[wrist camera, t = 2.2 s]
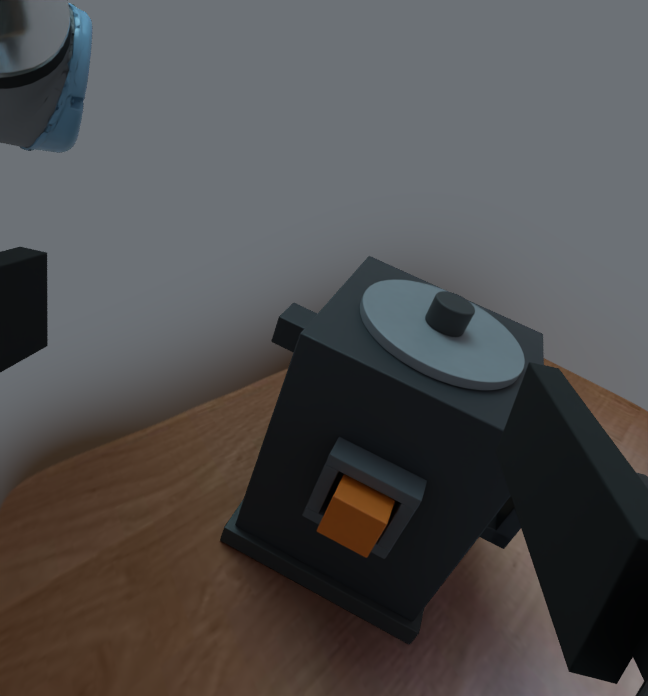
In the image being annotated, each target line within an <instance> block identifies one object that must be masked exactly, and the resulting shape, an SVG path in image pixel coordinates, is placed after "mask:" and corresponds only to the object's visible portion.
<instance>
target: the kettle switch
mask: <svg viewBox="0 0 648 696" xmlns="http://www.w3.org/2000/svg"><path fill="white" fill-rule="evenodd" d="M394 502H395V500H394V499H392V498H390V497H388V496H386V495H384V494H382V493H380V492H379V491H377V490H375V489H373V488H371V487H369V486H367V485H365V484H363V483H361V482H359V481H357V480H355V479H353V478H351V477H349V476H347V475H345V474H344V475H343V477H342V479H341V481H340V483H339V485H338V487H337V489H336V491H335V493H334V495H333V497H332V499H331V501H330V503H329V505H328V507H327V510H326V512H325V514H324V516H323V518H322V520H321V522H320V524H319V526H318V529H317V532H319V533H321V534H322V535H324V536H326V537H328V538H330V539H332V540H334V541H336V542H337V543H339V544H341V545H343V546H345V547H347V548H349V549H351V550H352V551H354V552H356V553H358V554H360V555H362V556H364V557H366V558H367V557H368V556H369V554H370V552H371V551H372V549H373V547H374V546H375V544H376V542H377V541H378V539H379V537H380V536H381V534H382V532H383V531H384V529H385V527H386V526H387V524H388V521H389V517H390V514H391V511H392V508H393V505H394Z"/></svg>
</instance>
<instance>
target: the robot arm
mask: <svg viewBox="0 0 648 696" xmlns="http://www.w3.org/2000/svg"><path fill="white" fill-rule="evenodd" d="M91 44H92V23H91V19H90V18H89V16H88V15H87V13H86V12H84V11H82V10H80V9H78V8H76V7H75V6H74V5H73V4H70V3H68V0H0V142H1V143H6V144H11V145H16V146H20V148H22V149H24V150H28V151H31V150H34V149H36V150H43V151H51V152H57V153H58V152H59V153H60V152H65V151H68V150H69V149H71V148H72V147H73V146H74V144H75V142H76V140H77V137H78V132H79V129H80V123H81V119H82V112H83V100H84V98H85V92H86V88H87V81H88V73H89V64H90V55H91ZM46 346H47V253H46V252H41V251H37V250H32V249H28V248H23V247H17V248H13V249H10V250H6V251H2V252H0V372H2V371H4V370H5V369H7V368H9V367H11V366H13V365H14V364H16V363H18V362H19V361H21V360H23V359H25V358H27V357H28V356H30V355H32V354H34V353H36V352H37V351H39V350H41V349H43V348H44V347H46ZM496 453H497V456H498V459H499V462H500V465H501V468H502V471H503V474H504V477H505V480H506V483H507V486H508V489H509V492H510V495H511V498H512V501H513V504H514V507H515V510H516V513H517V516H518V519H519V522H520V525H521V528H522V531H523V534H524V537H525V540H526V543H527V546H528V549H529V552H530V556H531V559H532V562H533V565H534V568H535V571H536V574H537V577H538V580H539V583H540V586H541V589H542V592H543V595H544V598H545V601H546V604H547V607H548V610H549V613H550V616H551V619H552V622H553V625H554V628H555V631H556V634H557V637H558V640H559V643H560V646H561V649H562V652H563V655H564V658H565V661H566V664H567V667H568V670H569V672H572V673H576V674H580V675H584V676H588V677H592V678H596V679H600V680H604V681H608V682H611V683H615V684H617V683H618V681H619V679H620V678H621V676H622V674H623V672H624V671H625V669H626V667H627V666H628V664H629V662H630V661H631V659H632V657H633V658H634V660H635V662H636V664H637V666H638V668H639V671H640V673H641V675H642V677H643V679H644V683H643V684H642V686H641V687H640V689H639V691H638V692H637V694H636V696H648V477H647V476H646V475H643V474H639V473H636V472H635V471H634V469H633V468H632V467H631V465H630V464H629V463H628V461H627V460H626V459H625V457H624V456H623V455H622V453H621V452H620V451H619V449H618V448H617V446H616V445H615V444H614V442H613V441H612V440H611V438H610V437H609V436H608V434H607V433H606V432H605V430H604V429H603V428H602V426H601V425H600V424H599V422H598V421H597V420H596V418H595V417H594V416H593V414H592V413H591V411H590V410H589V409H588V407H587V406H586V405H585V403H584V402H583V401H582V399H581V398H580V397H579V395H578V394H577V393H576V391H575V390H574V389H573V387H572V386H571V385H570V383H569V382H568V380H567V379H566V378H565V376H564V375H563V374H562V372H561V371H560V370H559V369H558V368H554V367H549V366H545V365H540V364H536V363H532V362H529V364H528V366H527V369H526V372H525V374H524V377H523V380H522V383H521V385H520V388H519V391H518V393H517V396H516V399H515V401H514V404H513V407H512V409H511V412H510V415H509V418H508V420H507V423H506V426H505V428H504V431H503V434H502V436H501V439H500V442H499V444H498V447H497V450H496Z"/></svg>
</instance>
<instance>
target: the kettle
mask: <svg viewBox="0 0 648 696" xmlns="http://www.w3.org/2000/svg"><path fill="white" fill-rule="evenodd" d="M272 342H273V343H275V344H277V345H280V346H281V347H283V348H285V349H288V350H290V351H292V352H294V353H293V356H292V359H291V362H290V365H289V368H288V371H287V374H286V377H285V380H284V383H283V385H282V388H281V391H280V394H279V397H278V400H277V403H276V406H275V409H274V412H273V415H272V418H271V421H270V424H269V426H268V429H267V432H266V435H265V438H264V441H263V444H262V447H261V450H260V453H259V456H258V459H257V462H256V465H255V467H254V470H253V473H252V476H251V479H250V482H249V485H248V488H247V491H246V494H245V497H244V499H243V501H242V502H241V503H240V505H239V506H238V508H237V509H236V511H235V512H234V514H233V515H232V517H231V518H230V520H229V521H228V523H227V524H226V526H225V527H224V530H223V533H222V536H221V539H220V541H222V542H224V543H226V544H228V545H229V546H231V547H233V548H235V549H237V550H238V551H240V552H242V553H244V554H246V555H247V556H249V557H251V558H253V559H255V560H257V561H258V562H260V563H262V564H264V565H266V566H267V567H269V568H271V569H273V570H275V571H277V572H278V573H280V574H282V575H284V576H286V577H287V578H289V579H291V580H293V581H295V582H297V583H298V584H300V585H302V586H304V587H306V588H307V589H309V590H311V591H313V592H315V593H316V594H318V595H320V596H322V597H324V598H326V599H327V600H329V601H331V602H333V603H335V604H336V605H338V606H340V607H342V608H344V609H346V610H347V611H349V612H351V613H353V614H355V615H356V616H358V617H360V618H362V619H364V620H366V621H367V622H369V623H371V624H373V625H375V626H376V627H378V628H380V629H382V630H384V631H385V632H387V633H389V634H391V635H393V636H395V637H396V638H398V639H400V640H402V641H404V642H405V643H407V644H409V645H410V644H411V642H412V641H413V640H414V639H415V637H416V636H417V635H418V634H419V630H420V625H421V620H422V616H423V611H424V607H425V606H426V605H427V603H428V602H429V601H430V599H431V598H432V597H433V596H434V594H435V593H436V592H437V590H438V589H439V588H440V586H441V585H442V584H443V583H444V581H445V580H446V579H447V577H448V576H449V575H450V574H451V572H452V571H453V570H454V568H455V567H456V566H457V565H458V563H459V562H460V561H461V559H462V558H463V557H464V555H465V554H466V553H467V552H468V550H469V549H470V548H471V546H472V545H473V544H474V543H475V541H476V540H477V539H478V537H481V538H483V539H485V540H487V541H489V542H491V543H493V544H495V545H497V546H499V547H501V548H503V549H504V548H505V547H506V546H507V545H508V543H509V542H510V541H511V540H512V538H513V537H514V536H515V535H516V534H517V532H518V531H519V530H520V529H521V525H520V522H519V519H518V516H517V513H516V510H515V507H514V504H513V501H512V498H511V495H510V492H509V489H508V486H507V483H506V480H505V477H504V474H503V471H502V468H501V465H500V462H499V459H498V456H497V453H496V450H497V447H498V444H499V442H500V439H501V436H502V434H503V431H504V428H505V426H506V423H507V420H508V418H509V415H510V412H511V409H512V407H513V404H514V401H515V399H516V396H517V393H518V391H519V388H520V385H521V383H522V380H523V377H524V374H525V372H526V369H527V366H528V364H529V362H532V363H536V364H540V365H544V359H543V334H542V333H539V332H537V331H535V330H533V329H531V328H528V327H526V326H524V325H522V324H519V323H517V322H515V321H513V320H511V319H508V318H506V317H504V316H502V315H499V314H497V313H495V312H493V311H491V310H488V309H486V308H484V307H482V306H479V305H477V304H475V303H473V302H471V301H468V300H466V299H465V298H463V297H461V296H459V295H457V294H454V293H451V292H448V291H446V290H444V289H441V288H439V287H437V286H435V285H433V284H430V283H428V282H426V281H424V280H422V279H419V278H417V277H415V276H412V275H410V274H408V273H406V272H404V271H402V270H399V269H397V268H395V267H393V266H390V265H388V264H386V263H384V262H382V261H379V260H377V259H375V258H373V257H370V256H369V257H368V258H367V259H366V260H365V261H364V262H363V263H362V264H361V265H360V267H359V268H358V269H357V270H356V271H355V272H354V274H353V275H352V276H351V277H350V278H349V279H348V280H347V281H346V283H345V284H344V285H343V286H342V287H341V288H340V289H339V290H338V292H337V293H336V294H335V295H334V296H333V297H332V298H331V299H330V300H329V302H328V303H327V304H326V305H325V306H324V307H323V309H322V310H321V311H320V312H319V313H318V314H317V313H315V312H313V311H311V310H308V309H306V308H304V307H302V306H300V305H298V304H296V303H293V304H292V305H291V306H290V307H289V308H288V309H287V310H286V311H285V312H284V313H282V314H281V315H280V316H279V319H278V322H277V325H276V328H275V332H274V335H273V338H272ZM344 474H345V475H347V476H349V477H351V478H353V479H355V480H357V481H359V482H361V483H363V484H365V485H367V486H369V487H371V488H373V489H375V490H377V491H379V492H380V493H382V494H384V495H386V496H388V497H390V498H392V499H394V500H395V502H394V505H393V508H392V511H391V514H390V517H389V521H388V524H387V526H386V527H385V529H384V531H383V532H382V534H381V536H380V537H379V539H378V541H377V542H376V544H375V546H374V547H373V549H372V551H371V552H370V554H369V556H368V557H367V558H366V557H364V556H362V555H360V554H358V553H356V552H354V551H352V550H351V549H349V548H347V547H345V546H343V545H341V544H339V543H337V542H336V541H334V540H332V539H330V538H328V537H326V536H324V535H322V534H321V533H319V532H317V529H318V526H319V524H320V522H321V520H322V518H323V516H324V514H325V512H326V510H327V507H328V505H329V503H330V501H331V499H332V497H333V495H334V493H335V491H336V489H337V487H338V485H339V483H340V481H341V479H342V477H343V475H344Z"/></svg>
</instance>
